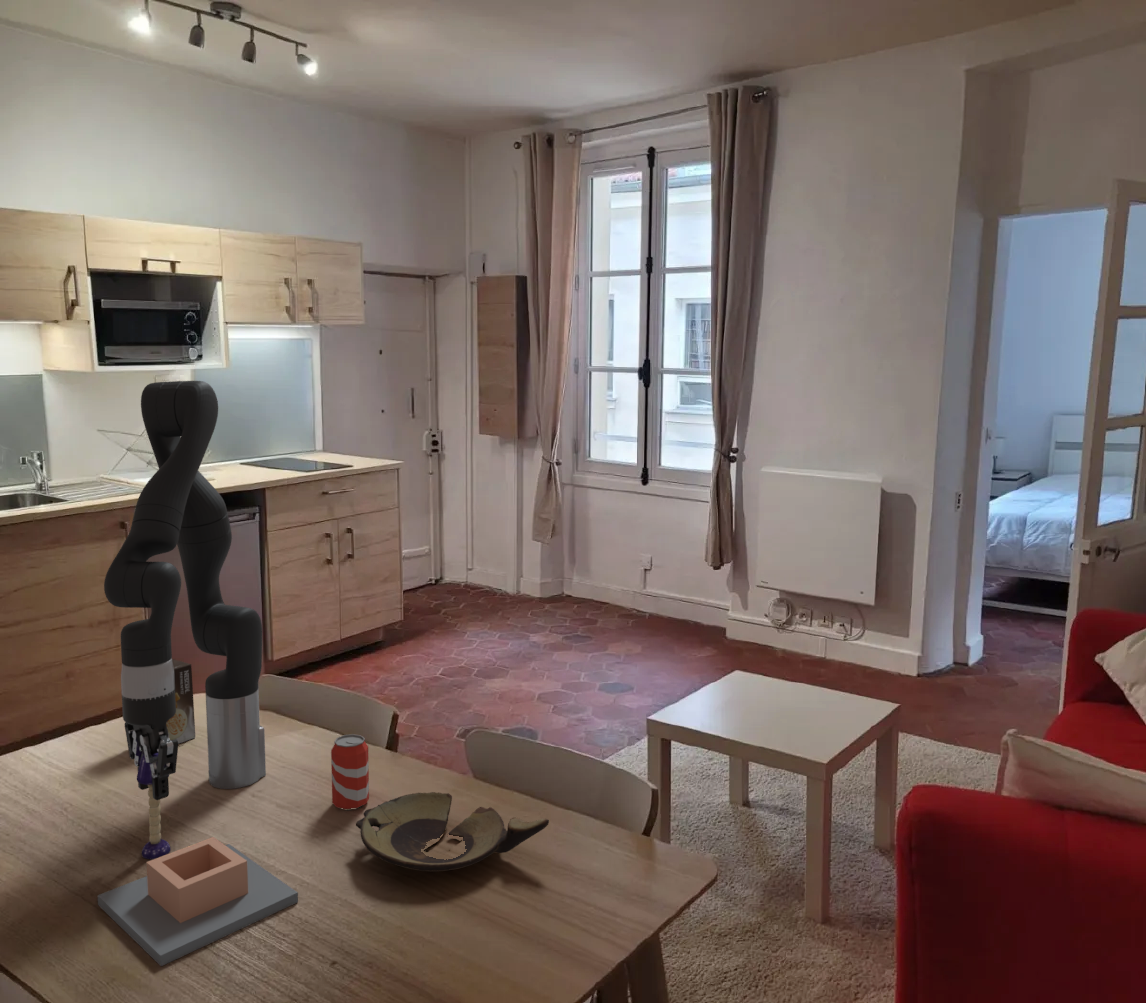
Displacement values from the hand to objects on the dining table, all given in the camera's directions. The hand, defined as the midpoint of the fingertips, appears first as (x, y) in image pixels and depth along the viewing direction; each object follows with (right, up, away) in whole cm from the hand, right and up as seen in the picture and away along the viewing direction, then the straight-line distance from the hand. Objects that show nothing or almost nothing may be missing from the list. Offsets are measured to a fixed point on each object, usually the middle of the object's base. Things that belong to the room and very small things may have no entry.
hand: (153, 792), depth 145 cm
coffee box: (-18, -4, +45) cm, 48 cm away
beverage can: (+26, -8, +19) cm, 34 cm away
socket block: (+12, -12, -12) cm, 21 cm away
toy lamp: (0, -10, +2) cm, 11 cm away
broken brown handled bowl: (+46, -11, +2) cm, 47 cm away
